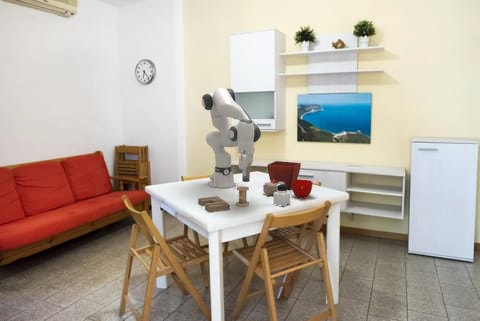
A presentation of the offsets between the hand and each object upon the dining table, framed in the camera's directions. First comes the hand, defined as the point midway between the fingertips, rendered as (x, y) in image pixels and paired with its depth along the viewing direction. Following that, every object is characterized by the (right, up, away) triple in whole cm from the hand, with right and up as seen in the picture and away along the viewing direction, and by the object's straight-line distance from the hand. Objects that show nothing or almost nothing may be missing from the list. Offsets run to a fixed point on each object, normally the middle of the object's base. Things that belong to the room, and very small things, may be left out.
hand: (245, 174), depth 202 cm
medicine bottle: (+21, -18, +13) cm, 31 cm away
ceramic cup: (+35, -16, +28) cm, 48 cm away
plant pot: (+28, -11, +57) cm, 65 cm away
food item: (+19, -15, +36) cm, 43 cm away
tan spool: (-2, -18, +13) cm, 22 cm away
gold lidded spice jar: (0, -4, 0) cm, 4 cm away
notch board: (-18, -18, +9) cm, 27 cm away
